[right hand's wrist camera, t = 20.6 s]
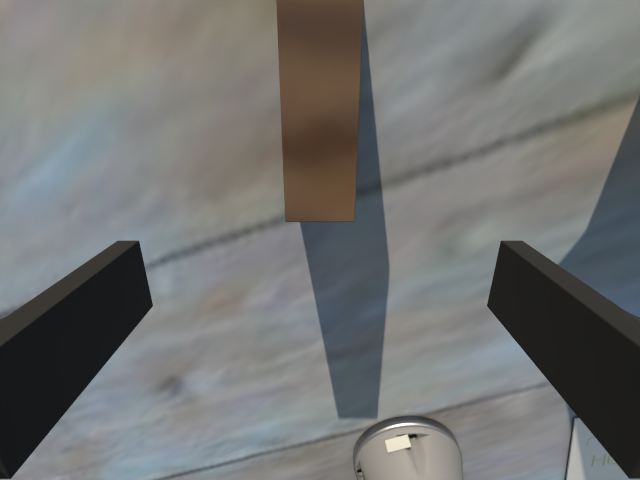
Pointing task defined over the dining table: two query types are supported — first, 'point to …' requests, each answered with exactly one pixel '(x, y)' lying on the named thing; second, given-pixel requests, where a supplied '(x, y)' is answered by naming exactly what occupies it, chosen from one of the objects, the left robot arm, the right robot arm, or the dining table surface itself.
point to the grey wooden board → (590, 457)
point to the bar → (320, 106)
